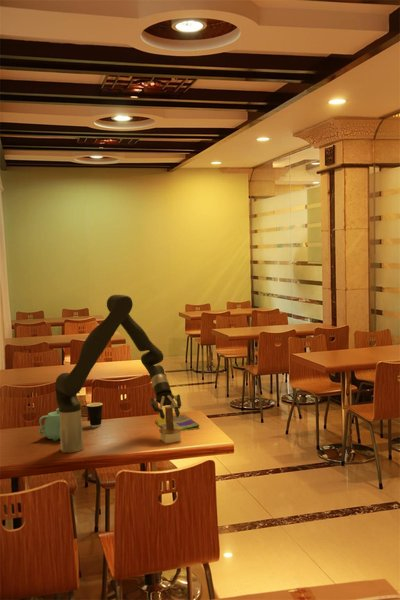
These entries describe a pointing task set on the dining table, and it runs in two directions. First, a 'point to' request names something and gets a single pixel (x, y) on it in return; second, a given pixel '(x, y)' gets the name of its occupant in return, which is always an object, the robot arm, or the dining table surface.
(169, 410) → the brown post on base
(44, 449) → the dining table surface
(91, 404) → the dixie cup
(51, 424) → the decorative pot
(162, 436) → the beige square base
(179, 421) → the dish towel
